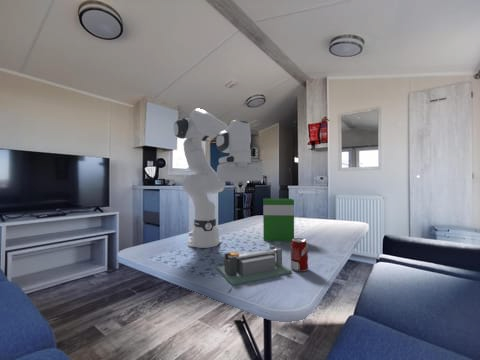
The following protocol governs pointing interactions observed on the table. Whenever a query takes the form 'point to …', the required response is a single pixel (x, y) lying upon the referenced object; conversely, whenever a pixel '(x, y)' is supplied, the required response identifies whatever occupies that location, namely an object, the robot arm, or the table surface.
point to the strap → (252, 253)
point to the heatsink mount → (253, 267)
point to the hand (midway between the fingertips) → (240, 192)
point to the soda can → (299, 254)
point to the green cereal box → (278, 219)
